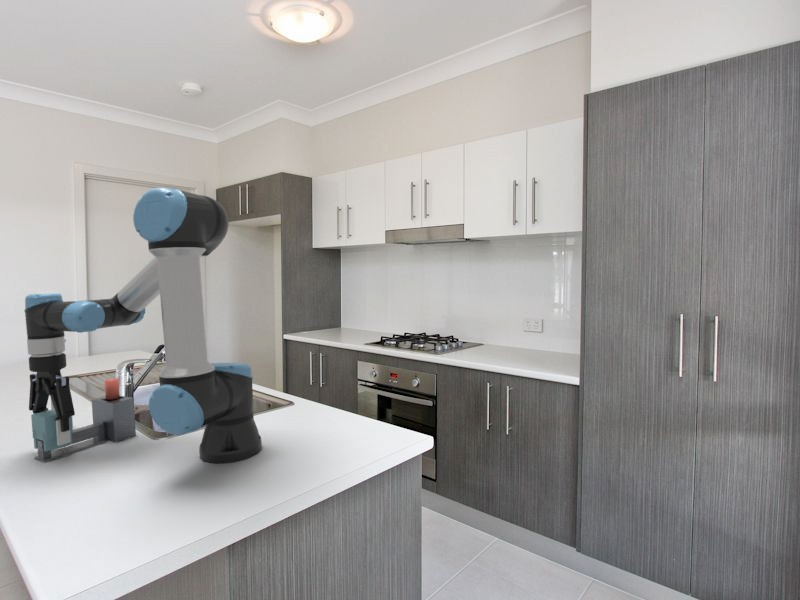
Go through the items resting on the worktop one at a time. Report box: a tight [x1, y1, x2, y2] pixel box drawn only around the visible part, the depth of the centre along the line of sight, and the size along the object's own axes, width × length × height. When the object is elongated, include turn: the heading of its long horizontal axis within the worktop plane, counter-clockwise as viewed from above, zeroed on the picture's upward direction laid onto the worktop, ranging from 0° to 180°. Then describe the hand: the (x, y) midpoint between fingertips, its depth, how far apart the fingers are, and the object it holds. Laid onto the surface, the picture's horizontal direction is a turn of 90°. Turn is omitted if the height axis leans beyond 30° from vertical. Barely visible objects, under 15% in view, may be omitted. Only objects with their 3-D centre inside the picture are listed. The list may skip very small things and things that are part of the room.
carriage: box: [30, 409, 73, 452], centre depth 118 cm, size 6×6×9 cm
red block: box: [104, 377, 121, 399], centre depth 131 cm, size 3×3×5 cm
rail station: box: [33, 395, 137, 463], centre depth 125 cm, size 10×22×11 cm, turn 153°
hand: (53, 440), depth 118 cm, fingers open, 9 cm apart
